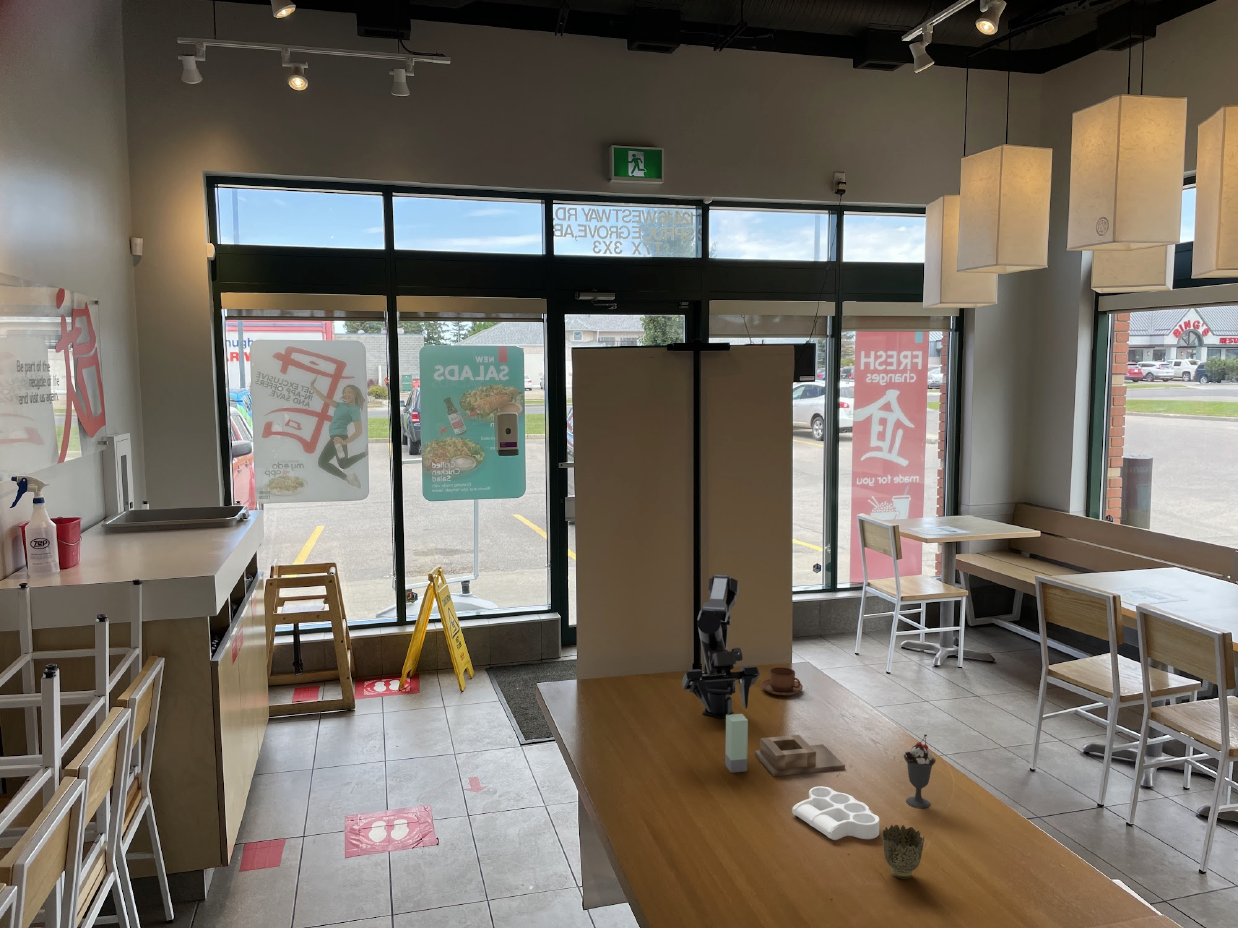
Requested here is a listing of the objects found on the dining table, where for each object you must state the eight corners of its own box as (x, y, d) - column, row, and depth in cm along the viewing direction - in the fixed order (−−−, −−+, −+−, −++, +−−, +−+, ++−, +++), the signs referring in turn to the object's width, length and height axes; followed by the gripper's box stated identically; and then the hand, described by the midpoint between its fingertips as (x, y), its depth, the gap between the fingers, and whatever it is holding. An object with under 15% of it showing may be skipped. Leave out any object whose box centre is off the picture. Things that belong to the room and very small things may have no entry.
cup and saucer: (806, 687, 259) (807, 668, 259) (797, 701, 249) (797, 680, 248) (767, 682, 264) (767, 662, 264) (756, 694, 254) (757, 674, 253)
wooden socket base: (773, 776, 201) (773, 757, 201) (755, 754, 213) (755, 736, 212) (844, 768, 205) (845, 750, 205) (822, 747, 217) (823, 730, 216)
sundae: (933, 797, 191) (936, 732, 189) (934, 812, 185) (936, 744, 183) (902, 793, 193) (904, 728, 192) (901, 807, 187) (904, 740, 185)
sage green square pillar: (730, 772, 203) (731, 721, 202) (725, 765, 207) (726, 714, 206) (747, 770, 204) (747, 719, 203) (741, 763, 208) (741, 713, 207)
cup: (874, 864, 165) (876, 824, 164) (912, 862, 165) (913, 822, 164) (890, 887, 157) (891, 845, 156) (929, 885, 158) (931, 843, 157)
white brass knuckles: (781, 811, 186) (833, 795, 193) (841, 851, 170) (894, 832, 177) (782, 796, 185) (833, 780, 192) (841, 834, 170) (895, 816, 177)
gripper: (685, 638, 212) (698, 698, 202) (757, 633, 216) (773, 692, 206) (676, 659, 220) (688, 717, 210) (746, 655, 224) (761, 712, 214)
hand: (728, 709), depth 210 cm, fingers open, 9 cm apart
